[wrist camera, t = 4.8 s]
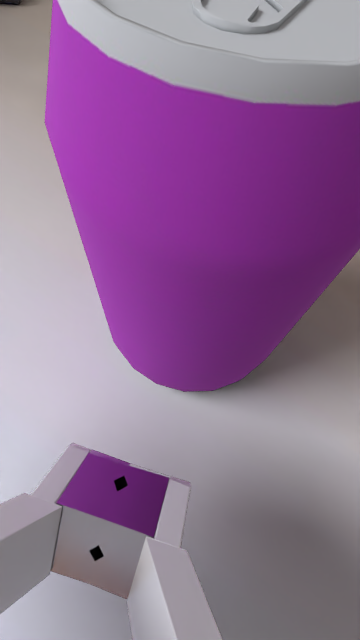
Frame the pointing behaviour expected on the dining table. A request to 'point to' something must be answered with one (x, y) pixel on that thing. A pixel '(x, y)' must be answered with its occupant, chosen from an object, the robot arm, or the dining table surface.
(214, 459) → the dining table surface
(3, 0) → the snack package
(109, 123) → the beverage can
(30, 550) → the robot arm
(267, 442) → the dining table surface
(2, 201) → the dining table surface
